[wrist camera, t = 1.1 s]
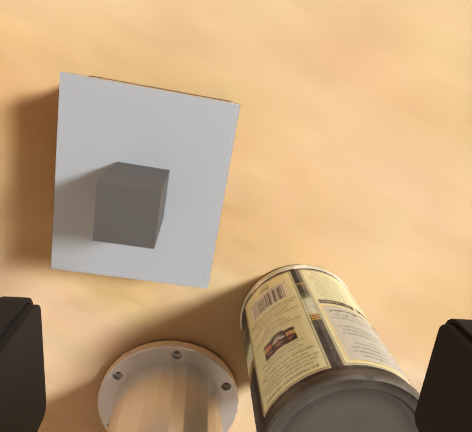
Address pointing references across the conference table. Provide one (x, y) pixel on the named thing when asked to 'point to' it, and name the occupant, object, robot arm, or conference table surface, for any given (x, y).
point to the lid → (139, 180)
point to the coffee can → (319, 359)
